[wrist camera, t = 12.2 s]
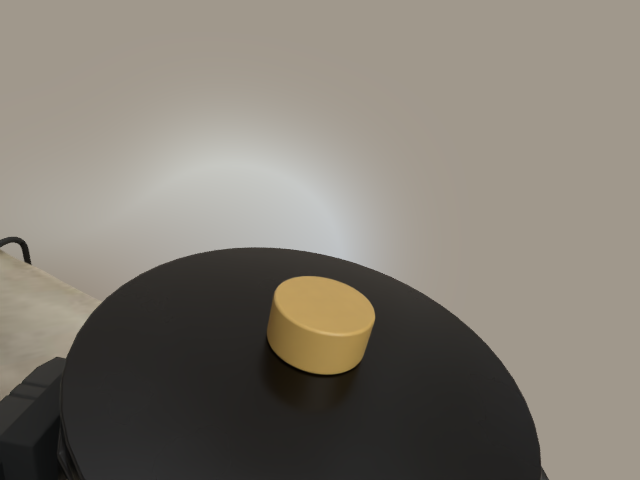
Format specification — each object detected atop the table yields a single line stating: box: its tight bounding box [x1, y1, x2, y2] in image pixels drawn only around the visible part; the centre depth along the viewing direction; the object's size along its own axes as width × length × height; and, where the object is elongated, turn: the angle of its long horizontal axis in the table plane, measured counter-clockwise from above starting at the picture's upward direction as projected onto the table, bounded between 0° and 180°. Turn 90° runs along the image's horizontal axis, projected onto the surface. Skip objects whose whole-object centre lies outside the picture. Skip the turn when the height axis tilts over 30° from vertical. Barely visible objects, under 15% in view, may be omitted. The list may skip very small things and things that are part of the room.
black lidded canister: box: [56, 248, 542, 480], centre depth 11 cm, size 11×11×11 cm
